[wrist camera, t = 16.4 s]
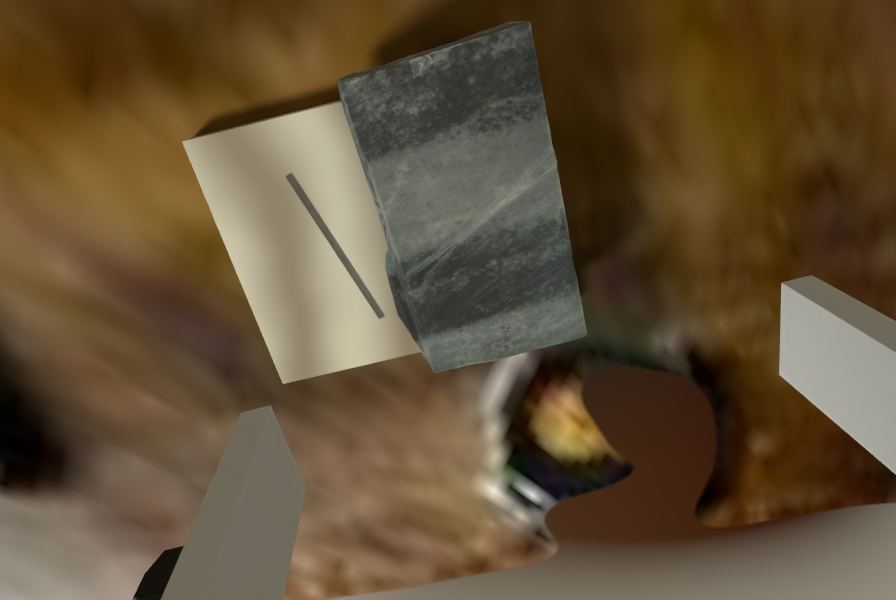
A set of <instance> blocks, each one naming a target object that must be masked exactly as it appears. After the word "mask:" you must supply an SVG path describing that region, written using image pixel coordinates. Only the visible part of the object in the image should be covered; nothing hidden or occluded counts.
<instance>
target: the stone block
mask: <svg viewBox="0 0 896 600" xmlns="http://www.w3.org/2000/svg"><path fill="white" fill-rule="evenodd" d="M338 91H339V94H340V98H341V102H342V106H343V109H344V113H345V116H346V119H347V122H348V125H349V128H350V131H351V134H352V137H353V140H354V143H355V146H356V149H357V152H358V155H359V158H360V161H361V164H362V167H363V170H364V173H365V176H366V179H367V183H368V186H369V189H370V192H371V195H372V198H373V201H374V204H375V207H376V210H377V214H378V217H379V220H380V223H381V226H382V229H383V233H384V236H385V239H386V243H387V247H388V249H387V251H386V254H385V269H386V273H387V277H388V281H389V285H390V288H391V292H392V295H393V299H394V302H395V306H396V310H397V314H398V316H399V318H400V319H401V321H402V322H403V323H404V325H405V326H406V328H407V329H408V331H409V332H410V334H411V336H412V338H413V340H414V341H415V343H416V344H417V345H418V347H419V348H420V350H421V352H422V353H423V355H424V357H425V359H426V360H427V361H428V362H429V364H430V366H431V368H432V370H433V372H434V373H437V372H442V371H446V370H450V369H455V368H459V367H463V366H466V365H471V364H477V363H484V362H490V361H494V360H499V359H503V358H507V357H510V356H514V355H517V354H521V353H524V352H528V351H531V350H534V349H539V348H543V347H547V346H551V345H555V344H559V343H563V342H567V341H571V340H575V339H578V338H582V337H585V336H586V334H587V332H586V326H585V320H584V315H583V309H582V303H581V298H580V292H579V287H578V281H577V276H576V271H575V266H574V261H573V256H572V255H573V254H572V249H571V244H570V239H569V232H568V226H567V220H566V214H565V209H564V203H563V198H562V192H561V186H560V180H559V175H558V170H557V159H556V155H555V151H554V149H553V146H552V140H551V134H550V128H549V123H548V118H547V113H546V106H545V100H544V95H543V90H542V84H541V79H540V73H539V67H538V61H537V56H536V50H535V45H534V39H533V34H532V28H531V23H530V22H525V21H519V22H516V21H515V22H505V23H503V24H501V25H498V26H496V27H493V28H490V29H486V30H483V31H481V32H478V33H476V34H473V35H470V36H467V37H464V38H461V39H459V40H456V41H453V42H450V43H447V44H444V45H441V46H438V47H435V48H432V49H429V50H426V51H423V52H420V53H417V54H414V55H409V56H407V57H404V58H401V59H398V60H396V61H393V62H391V63H388V64H385V65H382V66H377V67H374V68H371V69H368V70H365V71H362V72H359V73H352V74H349V75H347V76H345V77H344V78H341V79H338Z"/></svg>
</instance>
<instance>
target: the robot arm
mask: <svg viewBox="0 0 896 600" xmlns="http://www.w3.org/2000/svg"><path fill="white" fill-rule="evenodd" d="M779 375H780V376H781V377H783V378H784V379H785V380H786V381H787V382H788V383H790V384H791V385H792V386H793V387H794V388H795V389H797V390H798V391H799V392H800V393H801V394H802V395H804V396H805V397H806V398H807V399H808V400H809V401H811V402H812V403H813V404H814V405H815V406H816V407H818V408H819V409H820V410H821V411H822V412H823V413H825V414H826V415H827V416H828V417H829V418H830V419H832V420H833V421H834V422H835V423H836V424H837V425H839V426H840V427H841V428H842V429H843V430H844V431H846V432H847V433H848V434H849V435H850V436H851V437H853V438H854V439H855V440H856V441H857V442H858V443H860V444H861V445H862V446H863V447H864V448H865V449H867V450H868V451H869V452H870V453H871V454H872V455H874V456H875V457H876V458H877V459H878V460H879V461H881V462H882V463H883V464H884V465H885V466H886V467H888V468H889V469H890V470H891V471H892V472H893V473H895V474H896V321H894V320H892V319H890V318H889V317H887V316H885V315H883V314H881V313H880V312H878V311H876V310H874V309H872V308H870V307H869V306H867V305H865V304H863V303H861V302H860V301H858V300H856V299H854V298H852V297H850V296H849V295H847V294H845V293H843V292H841V291H839V290H838V289H836V288H834V287H832V286H830V285H829V284H827V283H825V282H823V281H821V280H819V279H818V278H816V277H814V276H812V275H811V276H807V277H803V278H799V279H795V280H791V281H786V282H782V284H781V328H780V373H779ZM305 491H306V485H305V483H304V481H303V478H302V476H301V474H300V471H299V469H298V467H297V465H296V462H295V460H294V458H293V455H292V453H291V451H290V449H289V446H288V444H287V442H286V439H285V437H284V435H283V433H282V430H281V428H280V426H279V423H278V421H277V419H276V417H275V414H274V412H273V410H272V407H271V406H267V407H263V408H259V409H255V410H250V411H246V412H242V413H241V415H240V417H239V420H238V422H237V424H236V427H235V429H234V431H233V434H232V436H231V438H230V440H229V443H228V445H227V447H226V450H225V452H224V454H223V457H222V459H221V461H220V464H219V466H218V468H217V471H216V473H215V475H214V478H213V480H212V482H211V484H210V487H209V489H208V491H207V494H206V496H205V498H204V501H203V503H202V505H201V508H200V510H199V512H198V515H197V517H196V519H195V522H194V524H193V526H192V528H191V531H190V533H189V535H188V538H187V540H186V542H185V545H184V546H182V547H177V548H173V549H169V550H165V551H164V552H163V553H162V554H161V555H160V557H159V558H158V559H157V560H156V561H155V562H154V564H153V565H152V566H151V567H150V568H149V570H148V571H147V572H146V573H145V574H144V577H143V579H142V581H141V583H140V585H139V587H138V589H137V591H136V593H135V595H134V597H133V600H283V596H284V591H285V586H286V581H287V577H288V572H289V567H290V562H291V558H292V553H293V548H294V543H295V539H296V534H297V529H298V524H299V520H300V515H301V510H302V505H303V501H304V496H305Z"/></svg>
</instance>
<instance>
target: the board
mask: <svg viewBox="0 0 896 600" xmlns="http://www.w3.org/2000/svg"><path fill="white" fill-rule="evenodd" d="M182 143H183V145H184V148H185V150H186V152H187V155H188V157H189V160H190V162H191V164H192V167H193V169H194V172H195V174H196V176H197V179H198V181H199V184H200V186H201V188H202V191H203V193H204V196H205V198H206V200H207V203H208V205H209V208H210V210H211V212H212V215H213V217H214V220H215V222H216V224H217V227H218V229H219V232H220V234H221V236H222V239H223V241H224V244H225V246H226V248H227V251H228V253H229V256H230V258H231V260H232V263H233V265H234V268H235V270H236V273H237V275H238V277H239V280H240V282H241V285H242V287H243V289H244V292H245V294H246V297H247V299H248V301H249V304H250V306H251V309H252V311H253V313H254V316H255V318H256V321H257V323H258V325H259V328H260V330H261V333H262V335H263V337H264V340H265V342H266V345H267V347H268V349H269V352H270V354H271V357H272V359H273V361H274V364H275V366H276V369H277V371H278V373H279V376H280V378H281V381H282V383H283V384H285V383H289V382H293V381H298V380H302V379H306V378H311V377H315V376H319V375H324V374H328V373H332V372H336V371H341V370H345V369H349V368H354V367H358V366H362V365H367V364H371V363H375V362H380V361H384V360H388V359H393V358H397V357H401V356H405V355H410V354H414V353H418V352H421V350H420V348H419V347H418V345H417V344H416V343H415V341H414V340H413V338H412V336H411V334H410V332H409V331H408V329H407V328H406V326H405V325H404V323H403V322H402V321H401V319H400V318H399V316H398V314H397V310H396V306H395V302H394V299H393V295H392V292H391V288H390V285H389V281H388V277H387V273H386V269H385V254H386V251H387V249H388V247H387V243H386V239H385V236H384V233H383V229H382V226H381V223H380V220H379V217H378V214H377V210H376V207H375V204H374V201H373V198H372V195H371V192H370V189H369V186H368V183H367V179H366V176H365V173H364V170H363V167H362V164H361V161H360V158H359V155H358V152H357V149H356V146H355V143H354V140H353V137H352V134H351V131H350V128H349V125H348V122H347V119H346V116H345V113H344V109H343V106H342V102H341V100H339V101H335V102H331V103H327V104H323V105H319V106H315V107H311V108H307V109H303V110H299V111H295V112H291V113H287V114H283V115H279V116H275V117H271V118H267V119H263V120H259V121H255V122H251V123H247V124H243V125H239V126H235V127H231V128H227V129H223V130H219V131H215V132H211V133H207V134H203V135H199V136H195V137H192V138H190V139H187V140H185V141H182Z"/></svg>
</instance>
